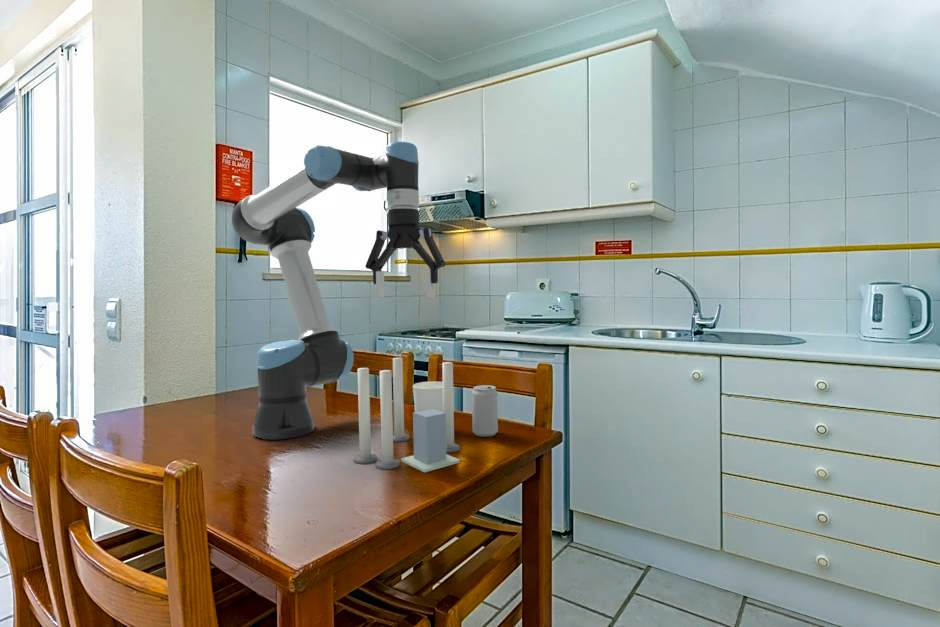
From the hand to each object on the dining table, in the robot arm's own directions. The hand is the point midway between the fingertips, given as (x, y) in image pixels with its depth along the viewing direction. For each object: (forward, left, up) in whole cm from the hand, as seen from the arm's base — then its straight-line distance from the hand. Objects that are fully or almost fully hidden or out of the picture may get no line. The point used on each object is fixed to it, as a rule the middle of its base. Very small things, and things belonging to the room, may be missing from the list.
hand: (405, 297), depth 126 cm
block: (+12, -14, -34) cm, 39 cm away
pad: (+12, -14, -35) cm, 39 cm away
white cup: (+3, +8, -35) cm, 36 cm away
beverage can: (+17, +9, -35) cm, 40 cm away
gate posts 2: (+8, -12, -35) cm, 38 cm away
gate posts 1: (-2, -9, -35) cm, 36 cm away
